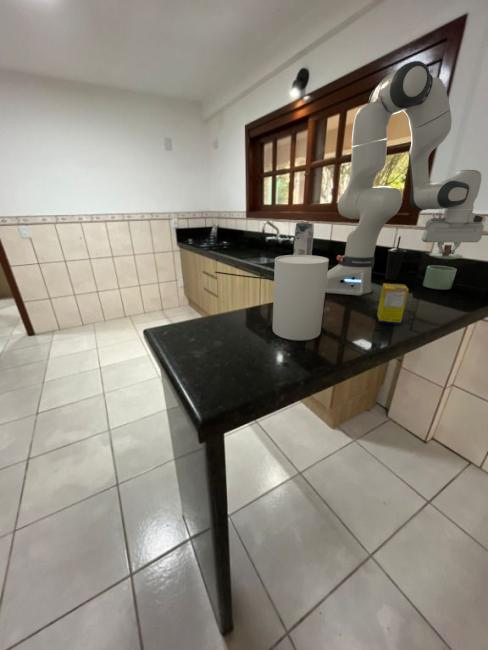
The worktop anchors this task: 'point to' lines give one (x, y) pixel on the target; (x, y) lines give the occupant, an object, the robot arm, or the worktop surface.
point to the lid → (446, 254)
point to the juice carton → (303, 238)
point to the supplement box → (392, 303)
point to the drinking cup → (394, 262)
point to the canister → (299, 296)
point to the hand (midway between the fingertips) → (446, 253)
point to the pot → (439, 277)
